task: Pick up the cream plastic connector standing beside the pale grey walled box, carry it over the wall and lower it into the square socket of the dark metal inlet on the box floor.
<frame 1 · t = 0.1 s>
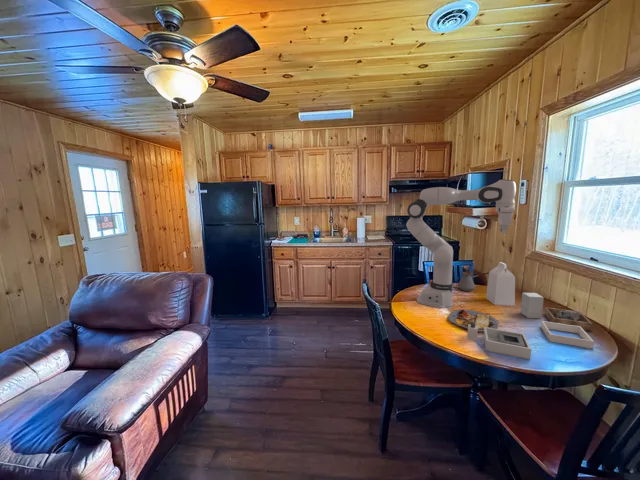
hand: (503, 232, 151), 48 cm above the table, fingers open, 8 cm apart
connector: (472, 338, 130), on the table
coffee pot: (473, 290, 193), on the table
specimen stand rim: (566, 321, 142), on the table
inlet: (510, 348, 120), resting on walled box
mineral specimen: (566, 322, 142), on the table
milk: (499, 301, 172), on the table
food plate: (472, 322, 146), on the table
open square frame: (564, 337, 128), on the table
walled box: (504, 347, 121), on the table
supplement box: (530, 315, 151), on the table
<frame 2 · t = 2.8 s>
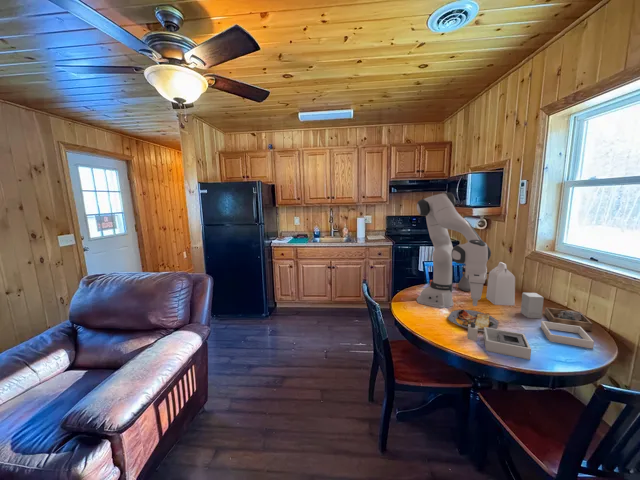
hand: (474, 301, 127), 19 cm above the table, fingers open, 8 cm apart
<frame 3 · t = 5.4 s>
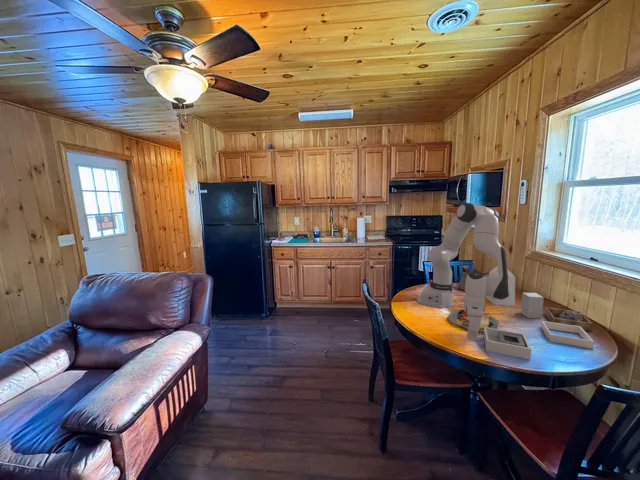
hand: (472, 332, 129), 3 cm above the table, fingers closed on connector, 4 cm apart
connector: (472, 338, 130), on the table, touching gripper
mineral specimen: (569, 323, 141), on the table, touching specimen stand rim
everything else where it was.
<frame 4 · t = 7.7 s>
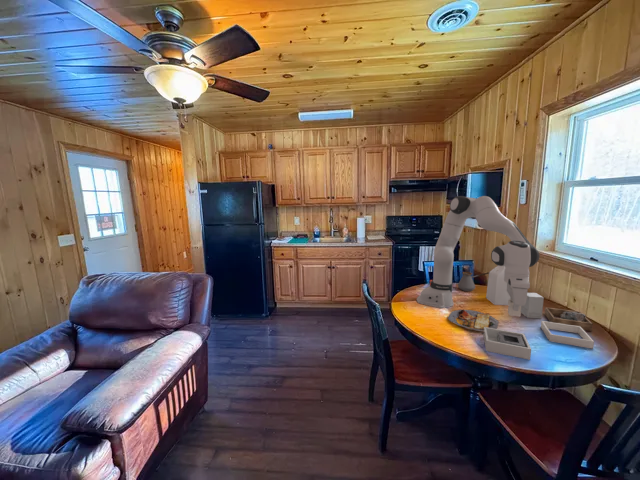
hand: (514, 307, 117), 20 cm above the table, fingers closed on connector, 4 cm apart
connector: (514, 314, 118), point 17 cm above the table, touching gripper
mineral specimen: (570, 323, 141), on the table
everything else where it was.
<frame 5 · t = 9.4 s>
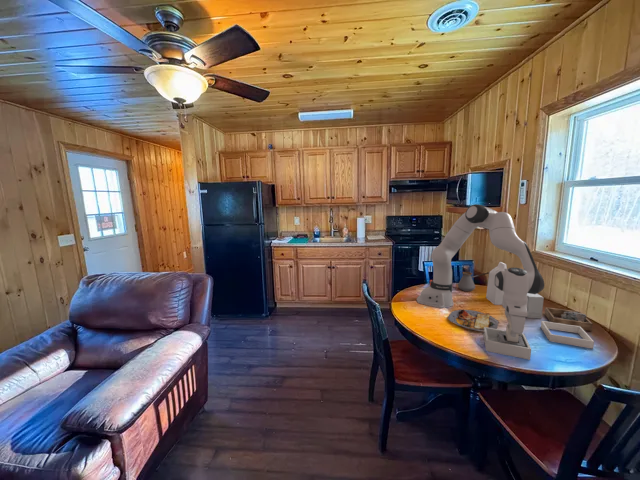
hand: (512, 333, 119), 7 cm above the table, fingers closed on connector, 4 cm apart
connector: (511, 339, 119), point 4 cm above the table, touching gripper
everything else where it was.
when the fingers open (5 cm above the table, at t = 10.5 s): connector drops 2 cm, resting on walled box.
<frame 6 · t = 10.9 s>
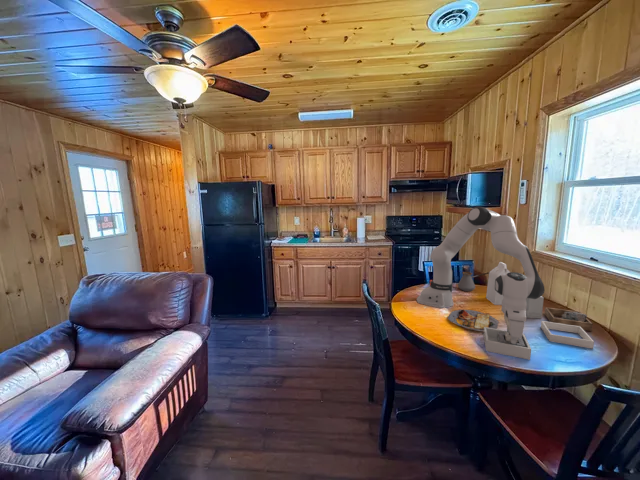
hand: (511, 337, 119), 5 cm above the table, fingers open, 8 cm apart
connector: (510, 346, 120), point 1 cm above the table, touching walled box
everything else where it was.
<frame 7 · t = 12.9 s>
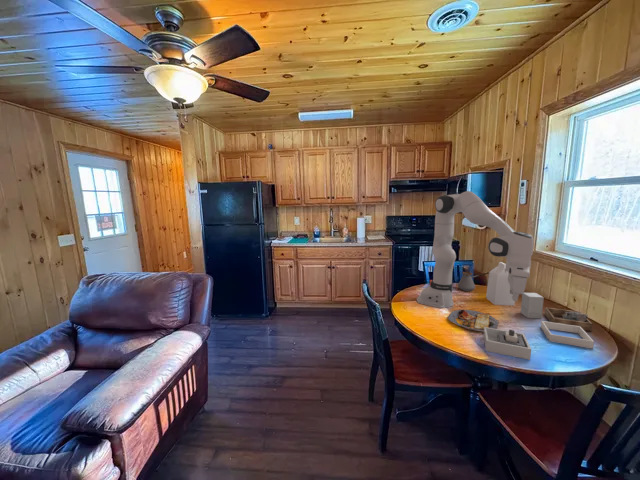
hand: (513, 297, 120), 23 cm above the table, fingers open, 8 cm apart
mineral specimen: (573, 324, 140), on the table, touching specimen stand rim
everything else where it was.
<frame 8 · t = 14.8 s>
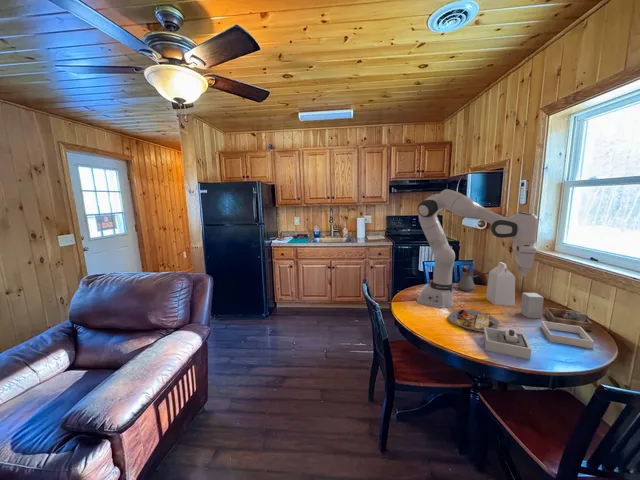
hand: (521, 273, 129), 31 cm above the table, fingers open, 8 cm apart
mineral specimen: (573, 324, 140), on the table
everything else where it was.
at the end: connector 0.1 cm off-centre on the inlet, point 0.6 cm above the inlet's base; connector tilted 0°; the gripper is holding nothing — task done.
